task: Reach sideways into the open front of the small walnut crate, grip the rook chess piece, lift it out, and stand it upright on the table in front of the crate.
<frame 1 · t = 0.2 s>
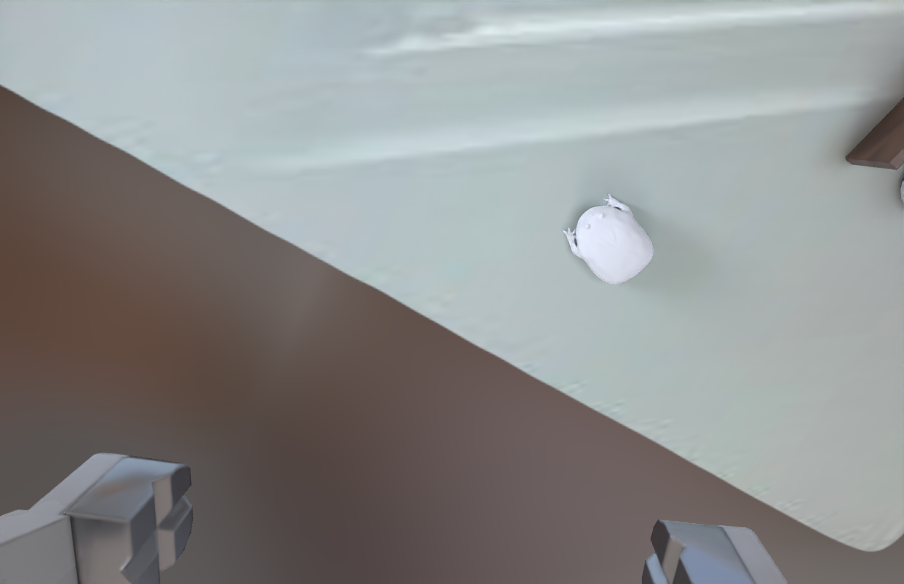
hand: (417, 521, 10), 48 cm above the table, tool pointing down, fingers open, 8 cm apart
white frog figurine: (607, 238, 56), on the table
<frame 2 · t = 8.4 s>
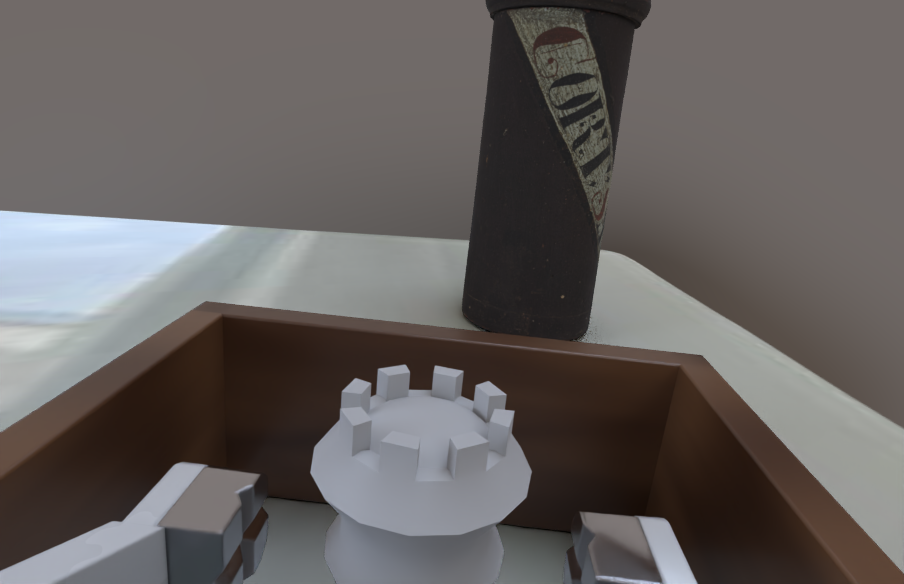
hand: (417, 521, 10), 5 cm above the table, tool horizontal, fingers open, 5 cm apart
container: (522, 321, 37), on the table
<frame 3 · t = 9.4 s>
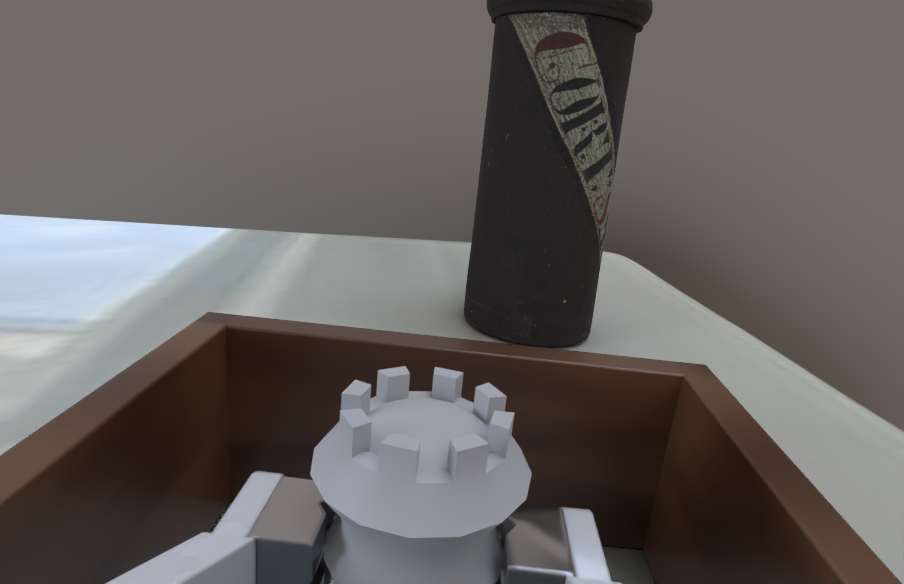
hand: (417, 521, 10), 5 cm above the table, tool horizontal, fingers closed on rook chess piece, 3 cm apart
container: (524, 325, 37), on the table
when the fingers open (5 cm above the table, at t = 16.2 s): rook chess piece stays where it is, on the table.
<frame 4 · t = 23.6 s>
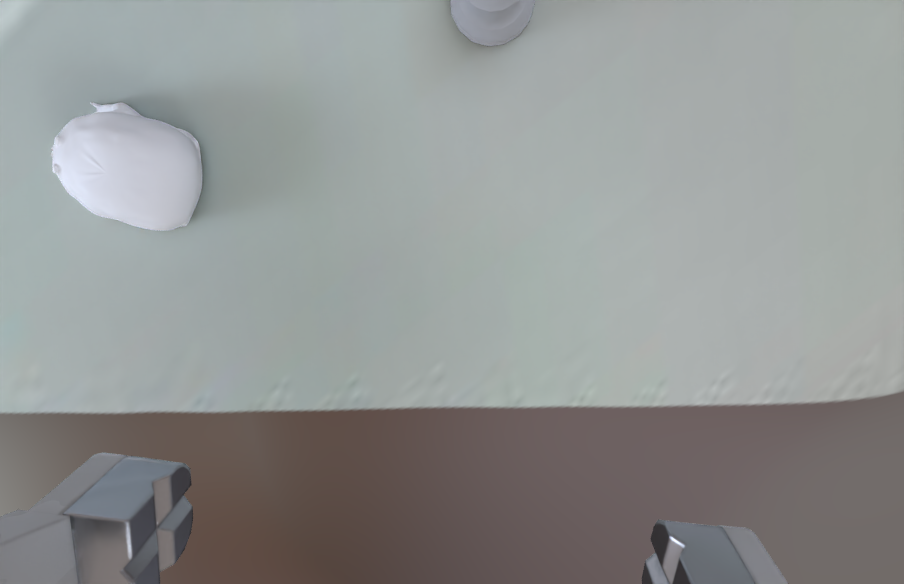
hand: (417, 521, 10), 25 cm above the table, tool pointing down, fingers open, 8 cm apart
white frog figurine: (147, 166, 34), on the table
rook chess piece: (492, 2, 30), on the table
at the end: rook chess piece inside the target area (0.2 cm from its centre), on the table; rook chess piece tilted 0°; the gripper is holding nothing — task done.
